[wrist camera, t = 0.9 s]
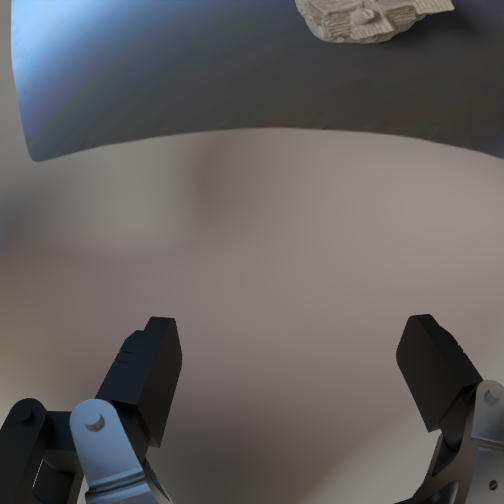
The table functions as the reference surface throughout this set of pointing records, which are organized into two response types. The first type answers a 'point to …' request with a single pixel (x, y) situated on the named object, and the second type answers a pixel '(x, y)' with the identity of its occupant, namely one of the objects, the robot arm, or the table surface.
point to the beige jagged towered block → (365, 18)
